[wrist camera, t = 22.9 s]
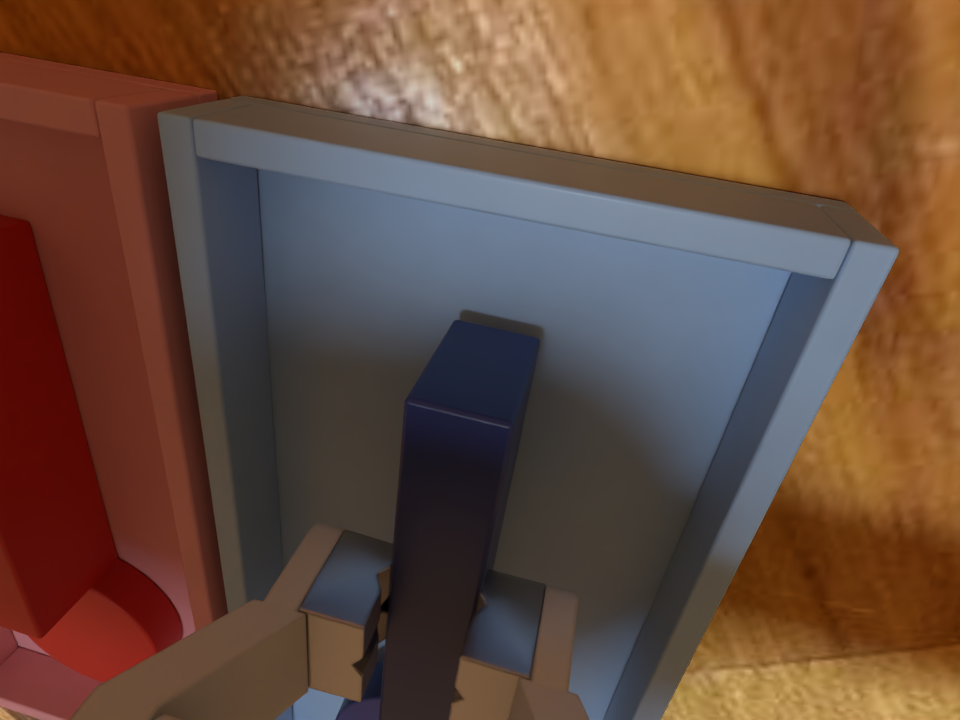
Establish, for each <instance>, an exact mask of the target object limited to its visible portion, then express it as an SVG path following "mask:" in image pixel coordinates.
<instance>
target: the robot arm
mask: <svg viewBox="0 0 960 720" xmlns="http://www.w3.org/2000/svg"><path fill="white" fill-rule="evenodd" d="M392 551H393V544H392V543H389V542H386V541H383V540H379V539H376V538H373V537H369V536H366V535H363V534H360V533H356V532H353V531H350V530H346V529H342V528H339V527H335V526H332V525H329V524H325V523H322V522H318V523H316V524H315V525H314V526H313V527H312V528H310V530H309V531H308V533H307V534H306V536H305V538H304V539H303V541H302V542H301V544H300V545H299V547H298V548H297V550H296V551H295V553H294V554H293V556H292V557H291V559H290V561H289V562H288V564H287V565H286V567H285V568H284V570H283V571H282V573H281V574H280V576H279V577H278V579H277V581H276V582H275V584H274V585H273V587H272V588H271V590H270V591H269V593H268V594H267V596H266V597H265V599H264V600H263V601H261V600H258V599H253V600H251V601H249V602H248V603H246V604H244V605H242V606H240V607H239V608H237V609H235V610H233V611H231V612H230V613H228V614H226V615H224V616H223V617H221V618H219V619H217V620H215V621H214V622H212V623H210V624H208V625H206V626H205V627H203V628H201V629H199V630H197V631H196V632H194V633H192V634H190V635H188V636H187V637H185V638H183V639H181V640H179V641H178V642H176V643H174V644H172V645H170V646H169V647H167V648H165V649H163V650H161V651H160V652H158V653H156V654H154V655H152V656H151V657H149V658H147V659H145V660H144V661H142V662H140V663H138V664H136V665H135V666H133V667H131V668H129V669H127V670H126V671H124V672H122V673H120V674H118V675H117V676H115V677H113V678H111V679H109V680H108V681H106V682H104V683H102V684H100V685H99V686H97V687H95V689H94V690H93V691H92V692H91V694H90V695H89V696H88V697H87V698H86V700H85V701H84V702H83V703H82V704H81V706H80V707H79V708H78V709H77V711H76V712H75V713H74V714H73V715H72V717H71V718H70V719H69V720H274V719H276V718H277V717H278V716H279V715H280V714H282V713H283V712H284V711H285V710H286V709H288V708H289V707H290V706H291V705H293V704H294V703H295V702H296V701H297V700H299V699H300V698H301V697H302V696H304V695H305V694H306V693H307V692H308V688H311V689H315V690H318V691H322V692H325V693H329V694H333V695H336V696H340V697H343V698H347V699H350V700H354V701H357V702H361V700H362V698H363V695H364V693H365V691H366V688H367V686H368V683H369V681H370V678H371V676H372V674H373V671H374V669H375V666H376V664H377V656H378V644H379V643H380V642H382V641H383V640H385V639H386V631H387V620H388V600H389V595H390V581H391V568H392ZM577 606H578V597H577V593H574V592H571V591H567V590H563V589H560V588H556V587H552V586H549V585H546V586H545V584H544V583H540V582H536V581H532V580H529V579H525V578H521V577H517V576H513V575H509V574H506V573H502V572H498V571H494V570H490V569H488V571H487V573H486V577H485V580H484V584H483V587H482V589H481V590H480V591H479V595H478V600H477V605H476V610H475V613H474V614H473V615H472V616H471V619H470V622H469V626H468V630H467V633H466V637H465V640H464V644H463V648H462V651H461V655H460V659H459V664H458V670H457V675H456V680H455V685H454V686H455V691H454V695H453V699H452V703H451V707H450V714H449V720H590V719H589V717H588V715H587V713H586V710H585V708H584V706H583V704H582V702H581V700H580V698H579V695H576V694H573V693H571V692H569V683H570V673H571V664H572V654H573V644H574V635H575V625H576V615H577Z"/></svg>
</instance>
